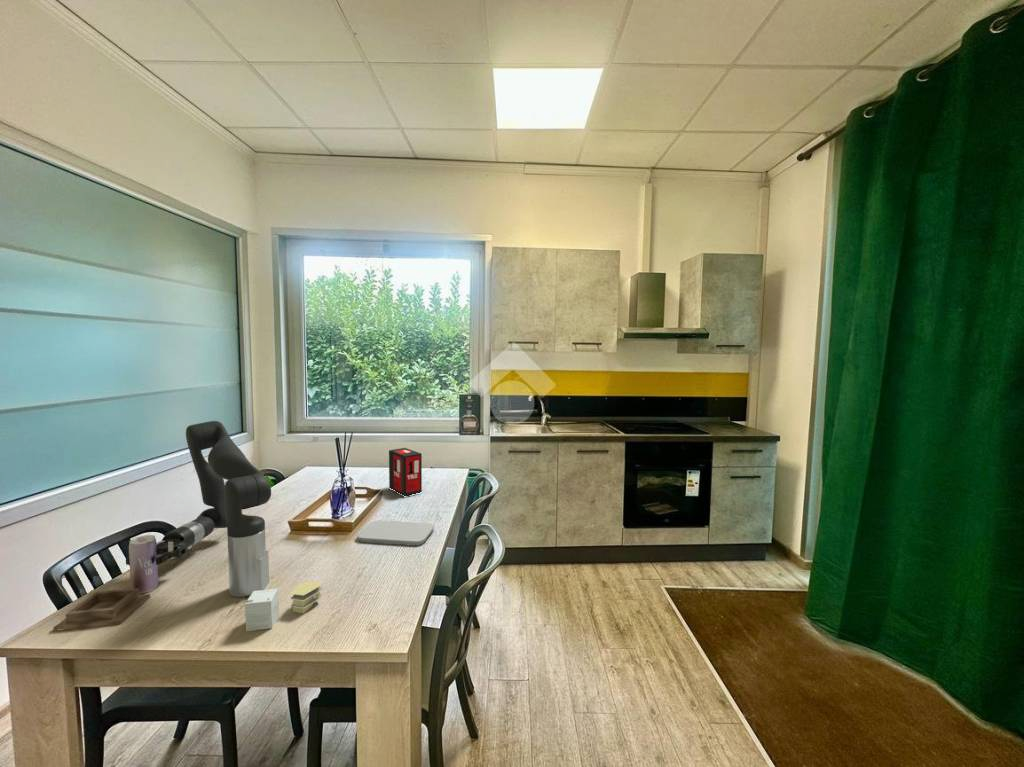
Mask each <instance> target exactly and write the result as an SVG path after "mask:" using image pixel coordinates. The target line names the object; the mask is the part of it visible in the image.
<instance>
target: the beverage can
mask: <svg viewBox="0 0 1024 767" xmlns="http://www.w3.org/2000/svg"><path fill="white" fill-rule="evenodd" d="M128 543H129V544H128V557H129V561H130V565H129V575H130V578H129V579H130V589H136V588H139V595H145V594H148V593H149V592H151V591H153V590H155V589H156V588H157V587H158V585H159V572H158V570H159V568H158V566H159V565H156V558H157V557H158V555H157V546H156V543H157V539H156V536H155V534H154V535H153V534H147V535H141V536H137V537H135V538H132V539H131V540H129V542H128Z"/></svg>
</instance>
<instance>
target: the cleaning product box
mask: <svg viewBox="0 0 1024 767" xmlns="http://www.w3.org/2000/svg"><path fill="white" fill-rule="evenodd" d="M422 457H423V456H422V453H421V452H418V451H415V450H412V449H409V448H406V447H402V448H394V449H389V450H388V477H389V479H388V480H389V482H388V483H389V484H388V486H389V488H391V489H393V490H395V491H396V492H398V493H400V494H402V495H404V496H409V495H412V494H416V493H420V492H423V490H422V489H423V488H422V486H423V485H422V483H423V482H422V481H423V477H422V475H423V474H422V473H423V472H422V465H423V464H422V462H423V460H422V459H423V458H422ZM389 488H388V489H389ZM396 492H395V493H396ZM398 493H397V494H398ZM400 494H399V495H400ZM402 495H401V496H402ZM404 496H403V497H404ZM409 497H410V496H409Z"/></svg>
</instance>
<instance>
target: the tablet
mask: <svg viewBox="0 0 1024 767" xmlns="http://www.w3.org/2000/svg"><path fill="white" fill-rule="evenodd" d="M434 529H435V525H434V524H432V523H429V522H428V523H427V522H413V521H412V522H411V521H393V520H382V519H381V520H380V519H379V520H373V521H371V522H369V523H368V524H367V525H366V526H365V527H364V528H362V529H361V530H360V531H359V532H358V533H357V534H356V537H357V539H358V541H359V542H360V543H373V544H386V543H390V544H389V545H400V544H409V545H408V546H415V545H416V546H421V545H423V544H424V543H425V542H426V541H427V539H429V536H430V535H431V534H432V532H433V531H434ZM420 544H421V545H420Z"/></svg>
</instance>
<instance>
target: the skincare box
mask: <svg viewBox="0 0 1024 767" xmlns="http://www.w3.org/2000/svg"><path fill="white" fill-rule="evenodd" d="M279 601H280V598H279V588H271V589H264V590H259V591H253V593H252V594H251V595H249V597H248V599H247V600H246V601H245V603H244V616H245V617H244V618H245V631H246V632H255V631H261V630H269V629H273V627H274V626H275V624H276V621H277V619H278V618H279V616H280V602H279Z"/></svg>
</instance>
